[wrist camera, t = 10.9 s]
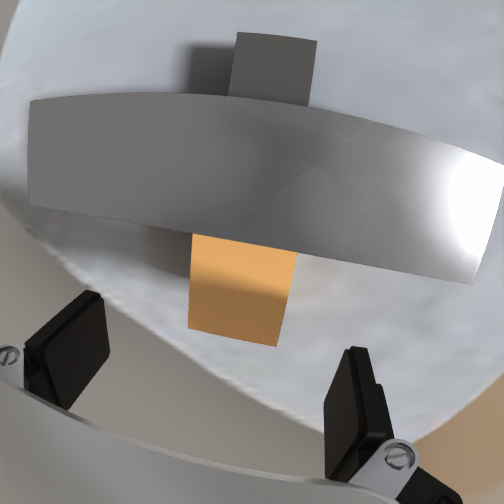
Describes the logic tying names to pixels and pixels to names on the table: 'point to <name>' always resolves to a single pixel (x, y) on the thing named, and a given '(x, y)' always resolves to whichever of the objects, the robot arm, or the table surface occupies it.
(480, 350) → the table surface
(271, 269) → the cable plug
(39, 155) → the grey notched block
